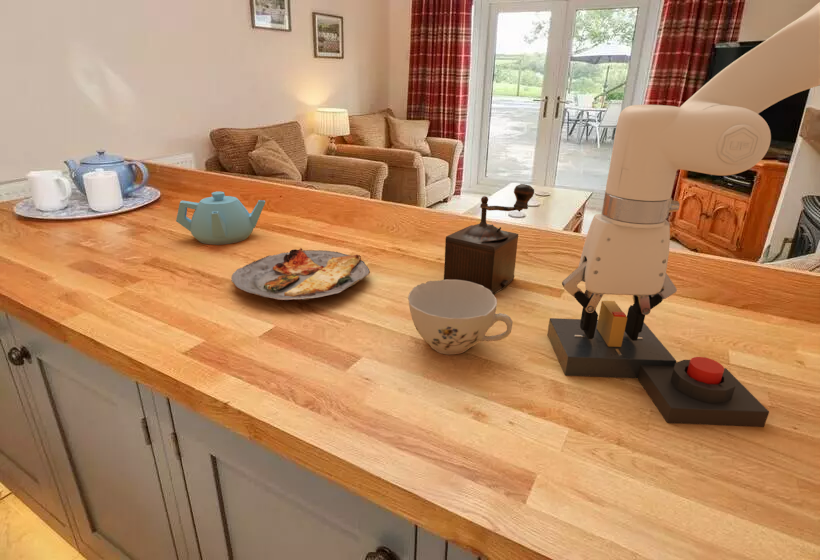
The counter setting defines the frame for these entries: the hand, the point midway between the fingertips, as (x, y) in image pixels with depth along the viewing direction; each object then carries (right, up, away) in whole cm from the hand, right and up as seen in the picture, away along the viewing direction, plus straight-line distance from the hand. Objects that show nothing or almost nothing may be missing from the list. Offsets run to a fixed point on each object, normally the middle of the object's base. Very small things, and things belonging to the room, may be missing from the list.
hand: (609, 333), depth 69 cm
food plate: (-48, +7, +24) cm, 54 cm away
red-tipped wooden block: (0, -1, 0) cm, 1 cm away
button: (+8, -4, -9) cm, 13 cm away
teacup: (-21, -2, +3) cm, 21 cm away
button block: (+8, -7, -8) cm, 13 cm away
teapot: (-72, +18, +48) cm, 88 cm away
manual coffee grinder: (-13, +8, +28) cm, 32 cm away
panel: (0, -3, +1) cm, 4 cm away
